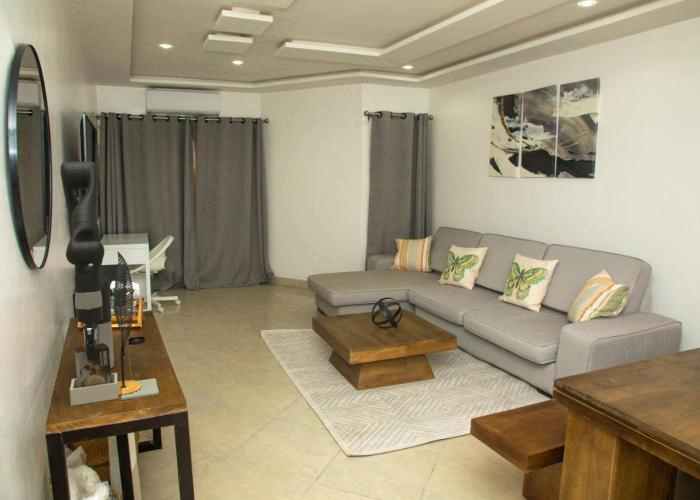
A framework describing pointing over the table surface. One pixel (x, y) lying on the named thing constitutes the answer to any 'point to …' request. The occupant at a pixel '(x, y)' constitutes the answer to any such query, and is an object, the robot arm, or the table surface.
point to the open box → (93, 392)
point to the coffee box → (93, 366)
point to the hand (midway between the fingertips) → (92, 356)
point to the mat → (144, 390)
